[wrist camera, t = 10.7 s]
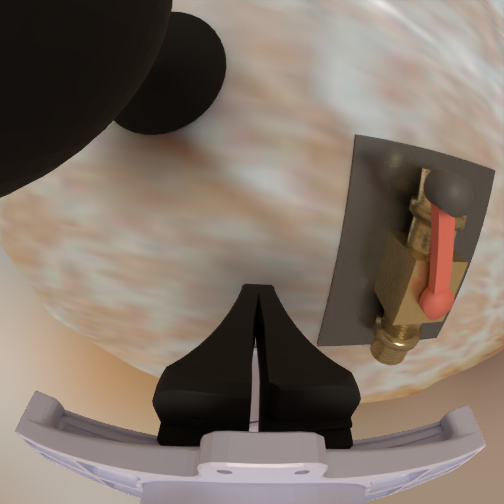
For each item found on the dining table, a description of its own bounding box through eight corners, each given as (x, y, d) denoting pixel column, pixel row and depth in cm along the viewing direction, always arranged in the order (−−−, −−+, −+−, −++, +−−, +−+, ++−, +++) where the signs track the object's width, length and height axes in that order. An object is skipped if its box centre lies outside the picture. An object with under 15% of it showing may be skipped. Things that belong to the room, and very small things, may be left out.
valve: (435, 335, 29) (453, 367, 24) (317, 343, 29) (325, 384, 24) (492, 169, 19) (530, 186, 14) (355, 134, 19) (385, 142, 14)
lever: (445, 304, 19) (459, 323, 17) (417, 315, 19) (430, 335, 17) (452, 164, 14) (475, 174, 12) (418, 170, 14) (440, 181, 12)
